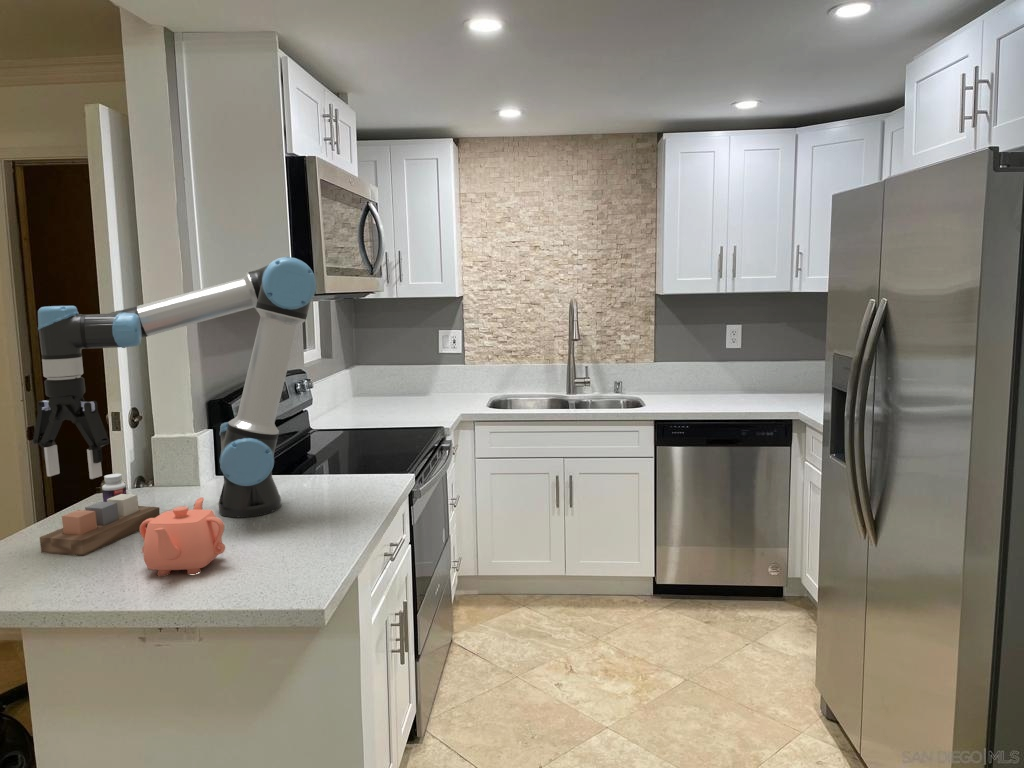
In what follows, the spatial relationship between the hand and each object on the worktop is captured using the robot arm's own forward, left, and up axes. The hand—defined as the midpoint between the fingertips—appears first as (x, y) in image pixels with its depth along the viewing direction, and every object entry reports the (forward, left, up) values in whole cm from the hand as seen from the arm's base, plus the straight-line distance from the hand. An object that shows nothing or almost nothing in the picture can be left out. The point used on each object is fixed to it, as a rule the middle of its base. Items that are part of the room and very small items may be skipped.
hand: (74, 476), depth 167 cm
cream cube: (0, -13, -14) cm, 19 cm away
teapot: (-32, +7, -16) cm, 37 cm away
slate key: (0, -6, -14) cm, 15 cm away
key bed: (0, -6, -16) cm, 17 cm away
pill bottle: (+11, -22, -16) cm, 30 cm away
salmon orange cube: (0, 0, -14) cm, 14 cm away
